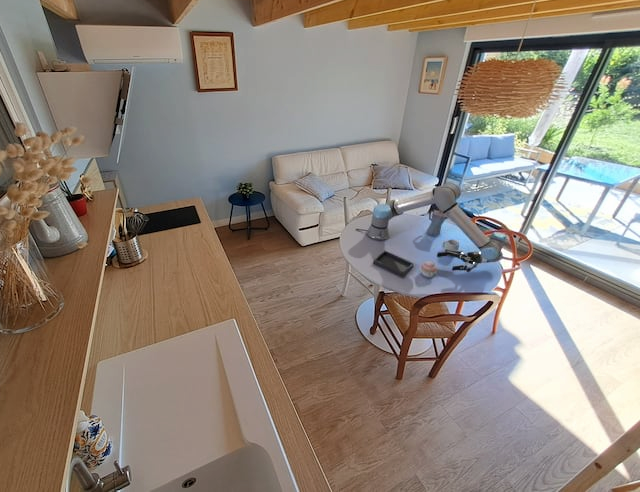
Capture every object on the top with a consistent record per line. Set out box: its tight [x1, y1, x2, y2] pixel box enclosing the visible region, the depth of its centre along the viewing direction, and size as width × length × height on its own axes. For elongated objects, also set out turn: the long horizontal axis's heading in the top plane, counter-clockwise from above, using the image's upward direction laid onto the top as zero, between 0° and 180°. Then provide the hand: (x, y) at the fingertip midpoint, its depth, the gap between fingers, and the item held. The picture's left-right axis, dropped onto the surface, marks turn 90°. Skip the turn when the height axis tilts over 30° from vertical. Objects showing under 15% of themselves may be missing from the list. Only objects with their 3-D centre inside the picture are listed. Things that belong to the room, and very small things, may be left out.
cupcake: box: [420, 260, 438, 279], centre depth 171 cm, size 9×9×10 cm
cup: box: [441, 239, 461, 258], centre depth 190 cm, size 7×10×9 cm
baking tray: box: [372, 250, 414, 278], centre depth 181 cm, size 20×15×3 cm
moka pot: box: [426, 207, 449, 237], centre depth 210 cm, size 10×15×20 cm, turn 27°
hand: (444, 261), depth 170 cm, fingers open, 13 cm apart
